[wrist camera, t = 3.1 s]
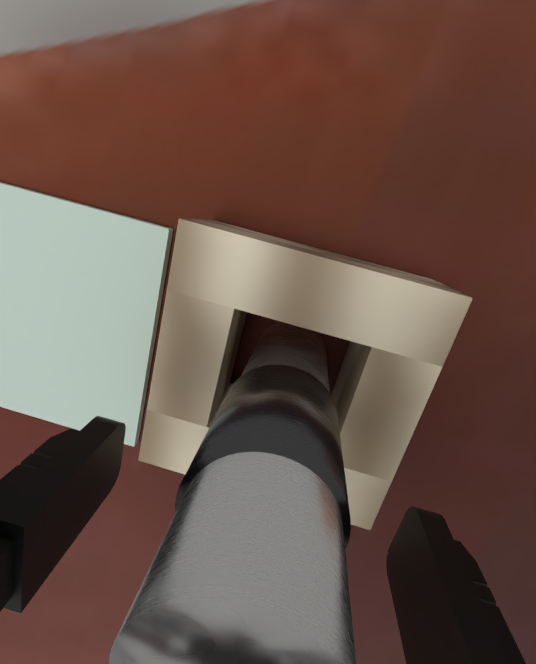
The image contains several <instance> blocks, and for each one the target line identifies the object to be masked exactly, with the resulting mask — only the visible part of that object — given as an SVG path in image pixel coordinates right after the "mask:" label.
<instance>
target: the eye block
mask: <svg viewBox="0 0 536 664" xmlns="http://www.w3.org/2000/svg"><path fill="white" fill-rule="evenodd" d="M472 299H473V298H472V297H470V296H467V295H465V294H463V293H461V292H459V291H457V290H455V289H452V288H450V287H448V286H446V285H444V284H442V283H440V282H437V281H435V280H433V279H430V278H426V277H422V276H419V275H415V274H411V273H408V272H404V271H400V270H397V269H393V268H389V267H385V266H382V265H378V264H374V263H371V262H367V261H363V260H359V259H356V258H352V257H348V256H345V255H341V254H337V253H334V252H330V251H326V250H322V249H319V248H315V247H311V246H308V245H304V244H300V243H297V242H293V241H289V240H285V239H282V238H278V237H274V236H271V235H267V234H263V233H259V232H256V231H252V230H248V229H245V228H241V227H237V226H234V225H230V224H226V223H222V222H219V221H215V220H207V219H181V218H179V221H178V227H177V233H176V239H175V244H174V250H173V256H172V262H171V268H170V274H169V280H168V286H167V292H166V298H165V304H164V310H163V316H162V322H161V328H160V334H159V340H158V346H157V352H156V358H155V364H154V370H153V376H152V382H151V388H150V394H149V400H148V406H147V412H146V418H145V424H144V430H143V436H142V442H141V448H140V454H139V461H142V462H145V463H149V464H152V465H155V466H159V467H162V468H165V469H169V470H172V471H175V472H179V473H182V474H186V472H187V471H188V469H189V467H190V465H191V463H192V461H193V459H194V457H195V455H196V453H197V451H198V449H199V447H200V445H201V443H202V441H203V439H204V437H205V435H206V433H207V431H208V429H209V427H210V425H211V424H212V422H213V420H214V418H215V416H216V414H217V412H218V410H219V408H220V406H221V404H222V402H223V400H224V398H225V396H226V394H227V392H228V390H229V389H230V387H231V386H232V383H230V381H231V377H232V373H233V369H234V364H235V360H236V356H237V352H238V348H239V344H240V340H241V336H242V332H243V328H244V323H245V319H246V315H247V312H248V313H252V314H255V315H259V316H263V317H266V318H270V319H273V320H277V321H280V322H284V323H288V324H291V325H295V326H298V327H302V328H305V329H309V330H313V331H316V332H320V333H323V334H327V335H331V336H334V337H338V338H341V339H345V340H348V341H350V342H349V345H348V348H347V351H346V354H345V357H344V359H343V362H342V365H341V368H340V371H339V374H338V377H337V380H336V383H335V385H334V388H333V391H332V394H331V396H332V398H333V400H334V402H335V405H336V409H337V415H338V423H339V431H340V439H341V447H342V455H343V463H344V471H345V479H346V487H347V495H348V503H349V511H350V519H351V525H355V526H358V527H361V528H365V529H368V530H370V529H371V527H372V525H373V523H374V520H375V518H376V516H377V514H378V511H379V509H380V507H381V505H382V502H383V500H384V498H385V496H386V493H387V491H388V489H389V487H390V484H391V482H392V480H393V478H394V475H395V473H396V471H397V468H398V466H399V464H400V462H401V459H402V457H403V455H404V453H405V450H406V448H407V446H408V444H409V441H410V439H411V437H412V435H413V432H414V430H415V428H416V426H417V423H418V421H419V419H420V417H421V414H422V412H423V410H424V407H425V405H426V403H427V401H428V398H429V396H430V394H431V392H432V389H433V387H434V385H435V383H436V380H437V378H438V376H439V374H440V371H441V369H442V367H443V365H444V362H445V360H446V358H447V356H448V353H449V351H450V349H451V346H452V344H453V342H454V340H455V337H456V335H457V333H458V331H459V328H460V326H461V324H462V322H463V319H464V317H465V315H466V313H467V310H468V308H469V306H470V304H471V301H472Z"/></svg>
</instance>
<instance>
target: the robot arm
mask: <svg viewBox="0 0 536 664" xmlns="http://www.w3.org/2000/svg"><path fill="white" fill-rule="evenodd" d="M125 431H126V426H125V424H124V423H122V422H118V421H115V420H111V419H108V418H104V417H101V416H96V417H95V418H93V419H92V420H91V421H90V422H89V423H88V424H87V425H86V426H85V427H83V428H82V429H81V430H80V431H78V430H74V429H69V430H67V431H64V432H62V433H60V434H57V435H55V436H53V437H51V438H49V439H48V440H47V441H46V442H45V443H43V444H42V445H41V446H40V447H39V448H37V449H36V450H35V452H34V453H33V454H32V453H31V454H30V455H29V456H28V457H27V458H26V459H24V460H23V461H22V462H21V464H20V465H17V466H16V467H15V468H14V469H12V470H11V471H10V472H9V473H8V474H6V475H5V476H4V477H3V478H2V479H1V480H0V611H1V610H2V609H3V608H6V609H9V610H13V611H16V612H19V613H21V612H22V611H23V610H24V608H25V607H26V606H27V604H28V603H29V601H30V600H31V599H32V597H33V596H34V595H35V593H36V592H37V591H38V589H39V588H40V586H41V585H42V584H43V582H44V581H45V580H46V578H47V577H48V576H49V574H50V573H51V572H52V570H53V569H54V567H55V566H56V565H57V563H58V562H59V561H60V559H61V558H62V557H63V555H64V554H65V552H66V551H67V550H68V548H69V547H70V546H71V544H72V543H73V542H74V540H75V539H76V538H77V536H78V535H79V533H80V532H81V531H82V529H83V528H84V527H85V525H86V524H87V523H88V521H89V520H90V518H91V517H92V516H93V514H94V513H95V512H96V510H97V509H98V508H99V506H100V505H101V504H102V502H103V501H104V499H105V498H106V497H107V495H108V494H109V493H110V491H111V490H112V488H113V486H114V484H115V482H116V480H117V477H118V475H119V471H120V467H121V459H122V452H123V445H124V438H125ZM387 575H388V579H389V584H390V589H391V593H392V598H393V603H394V607H395V612H396V617H397V621H398V626H399V630H400V635H401V640H402V644H403V649H404V654H405V658H406V663H407V664H526V663H525V661H524V659H523V657H522V655H521V653H520V651H519V649H518V647H517V645H516V642H515V640H514V638H513V636H512V634H511V632H510V630H509V628H508V626H507V624H506V622H505V620H504V618H503V616H502V614H501V611H500V609H499V607H497V606H496V601H495V599H494V597H493V595H492V593H491V591H490V589H489V588H487V582H486V580H485V578H484V576H483V574H482V572H481V570H480V568H479V566H478V564H477V562H476V561H475V559H474V558H473V557H472V556H471V555H470V553H469V552H468V551H467V550H466V548H465V547H464V546H463V545H462V543H461V542H460V541H456V540H454V539H453V537H452V535H451V533H450V530H449V528H448V526H447V524H446V521H445V519H444V518H443V516H442V515H440V514H437V513H434V512H430V511H427V510H423V509H420V508H416V507H410V508H409V509H408V510H407V512H406V513H405V516H404V518H403V520H402V522H401V524H400V526H399V528H398V530H397V532H396V535H395V537H394V539H393V541H392V543H391V545H390V547H389V550H388V555H387Z"/></svg>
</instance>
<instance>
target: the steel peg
mask: <svg viewBox="0 0 536 664" xmlns="http://www.w3.org/2000/svg"><path fill="white" fill-rule="evenodd" d="M175 508H176V513H175V516H174V518H173V520H172V522H171V524H170V526H169V528H168V530H167V532H166V534H165V537H164V539H163V541H162V543H161V545H160V547H159V549H158V551H157V553H156V555H155V558H154V560H153V562H152V564H151V566H150V568H149V570H148V572H147V574H146V576H145V579H144V581H143V583H142V585H141V587H140V589H139V591H138V593H137V595H136V597H135V600H134V602H133V604H132V606H131V608H130V610H129V612H128V614H127V616H126V618H125V621H124V623H123V625H122V627H121V629H120V631H119V633H118V635H117V637H116V639H115V642H114V644H113V646H112V649H111V652H110V656H109V664H356V659H355V648H354V638H353V628H352V617H351V607H350V596H349V586H348V576H347V565H346V555H345V549H346V547H347V544H348V541H349V537H350V530H351V519H350V511H349V503H348V495H347V487H346V479H345V471H344V463H343V455H342V447H341V439H340V431H339V423H338V415H337V409H336V405H335V402H334V400H333V398H332V396H331V394H330V389H329V378H328V368H327V357H326V348H325V343H324V340H323V338H322V336H321V334H320V333H319V332H316V331H313V330H309V329H305V328H302V327H298V326H295V325H291V324H288V323H284V322H280V321H276V322H273V323H272V324H270V325H269V326H268V327H267V328H266V329H265V330H264V331H263V332H262V334H261V335H260V337H259V339H258V341H257V343H256V346H255V348H254V350H253V352H252V354H251V356H250V358H249V360H248V362H247V364H246V367H245V369H244V371H243V373H242V375H241V377H239V378H238V379H237V380H236V381H235V382H234V383H233V384H232V386H231V387H230V389H229V390H228V392H227V394H226V396H225V398H224V400H223V402H222V404H221V406H220V408H219V410H218V412H217V414H216V416H215V418H214V420H213V422H212V424H211V425H210V427H209V429H208V431H207V433H206V435H205V437H204V439H203V441H202V443H201V445H200V447H199V449H198V451H197V453H196V455H195V457H194V459H193V461H192V463H191V465H190V467H189V469H188V471H187V472H186V474H185V476H184V478H183V480H182V482H181V484H180V486H179V489H178V493H177V497H176V504H175Z"/></svg>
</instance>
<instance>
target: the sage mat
mask: <svg viewBox="0 0 536 664" xmlns="http://www.w3.org/2000/svg"><path fill="white" fill-rule="evenodd" d="M172 234H173V229H172V228H168V227H165V226H161V225H157V224H154V223H150V222H146V221H143V220H139V219H135V218H132V217H128V216H124V215H121V214H117V213H113V212H110V211H106V210H102V209H99V208H95V207H91V206H88V205H84V204H80V203H77V202H73V201H69V200H65V199H62V198H58V197H54V196H51V195H47V194H43V193H40V192H36V191H32V190H29V189H25V188H21V187H18V186H14V185H10V184H7V183H3V182H0V407H3V408H6V409H10V410H13V411H16V412H20V413H23V414H26V415H30V416H33V417H36V418H40V419H43V420H46V421H50V422H53V423H56V424H60V425H63V426H66V427H70V428H73V429H76V430H81V429H82V428H83V427H85V426H86V425H87V424H88V423H89V422H90V421H91V420H92V419H93V418H95V417H96V416H101V417H104V418H108V419H111V420H115V421H118V422H122V423H124V424H125V426H126V431H125V438H124V444H127V445H130V446H133V447H134V446H135V445H136V444H137V443H138V441H139V435H140V429H141V423H142V417H143V411H144V405H145V399H146V393H147V386H148V380H149V374H150V368H151V362H152V356H153V350H154V344H155V338H156V332H157V326H158V320H159V313H160V307H161V301H162V295H163V289H164V283H165V277H166V271H167V265H168V259H169V253H170V246H171V240H172Z"/></svg>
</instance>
